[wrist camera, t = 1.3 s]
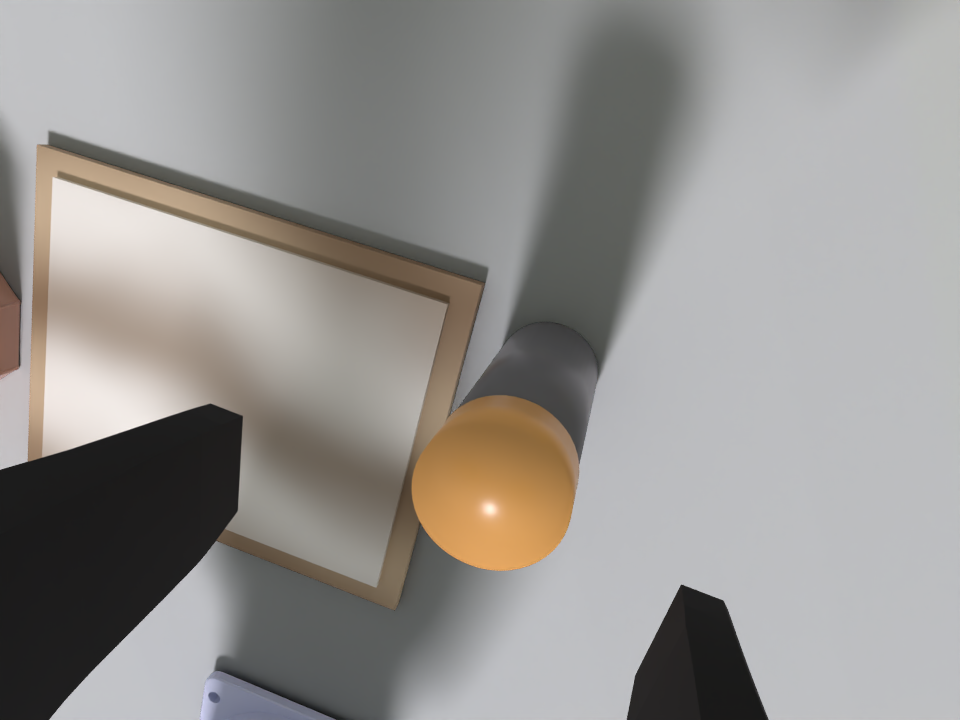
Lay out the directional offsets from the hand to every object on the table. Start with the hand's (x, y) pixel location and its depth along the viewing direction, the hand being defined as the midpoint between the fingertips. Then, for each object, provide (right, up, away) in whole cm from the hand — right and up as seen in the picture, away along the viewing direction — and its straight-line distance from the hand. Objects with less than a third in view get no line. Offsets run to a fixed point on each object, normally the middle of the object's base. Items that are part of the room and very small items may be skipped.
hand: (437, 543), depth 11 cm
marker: (+3, +3, +10) cm, 10 cm away
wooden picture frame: (-8, +2, +12) cm, 15 cm away
